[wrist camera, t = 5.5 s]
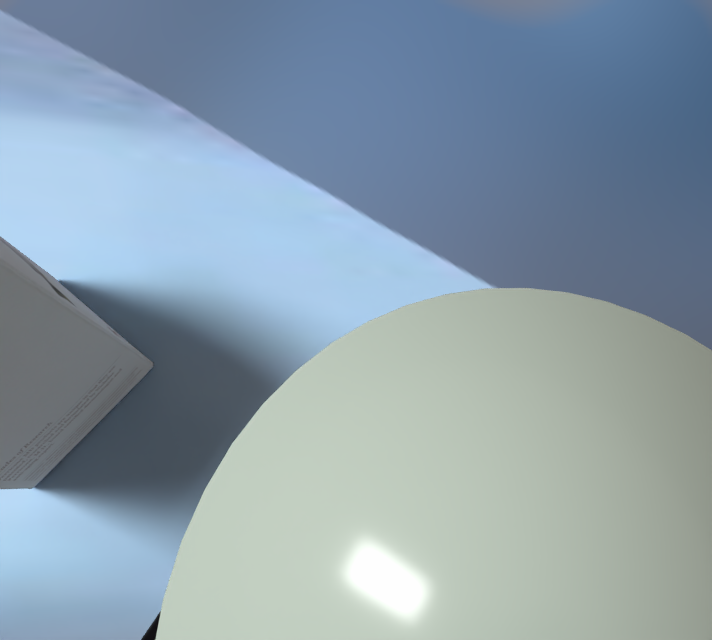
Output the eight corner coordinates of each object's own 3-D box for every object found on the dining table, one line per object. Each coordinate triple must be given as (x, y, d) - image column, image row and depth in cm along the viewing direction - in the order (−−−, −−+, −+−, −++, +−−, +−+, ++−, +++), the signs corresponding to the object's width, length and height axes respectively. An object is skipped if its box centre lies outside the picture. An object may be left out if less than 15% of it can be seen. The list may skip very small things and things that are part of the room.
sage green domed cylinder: (468, 544, 15) (1149, 847, 3) (336, 631, 14) (442, 1778, 2) (393, 411, 16) (618, 196, 4) (267, 482, 15) (27, 493, 3)
